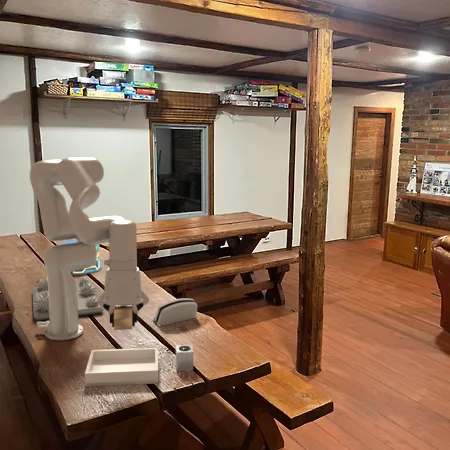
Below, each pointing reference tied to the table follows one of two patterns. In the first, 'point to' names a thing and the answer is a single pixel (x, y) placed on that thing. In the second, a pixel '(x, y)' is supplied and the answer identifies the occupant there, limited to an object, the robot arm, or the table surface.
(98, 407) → the table surface
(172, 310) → the grey rounded slab
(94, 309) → the decorative tray
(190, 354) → the grey block
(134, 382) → the sorting tray
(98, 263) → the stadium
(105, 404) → the table surface
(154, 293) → the table surface
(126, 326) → the maple block
